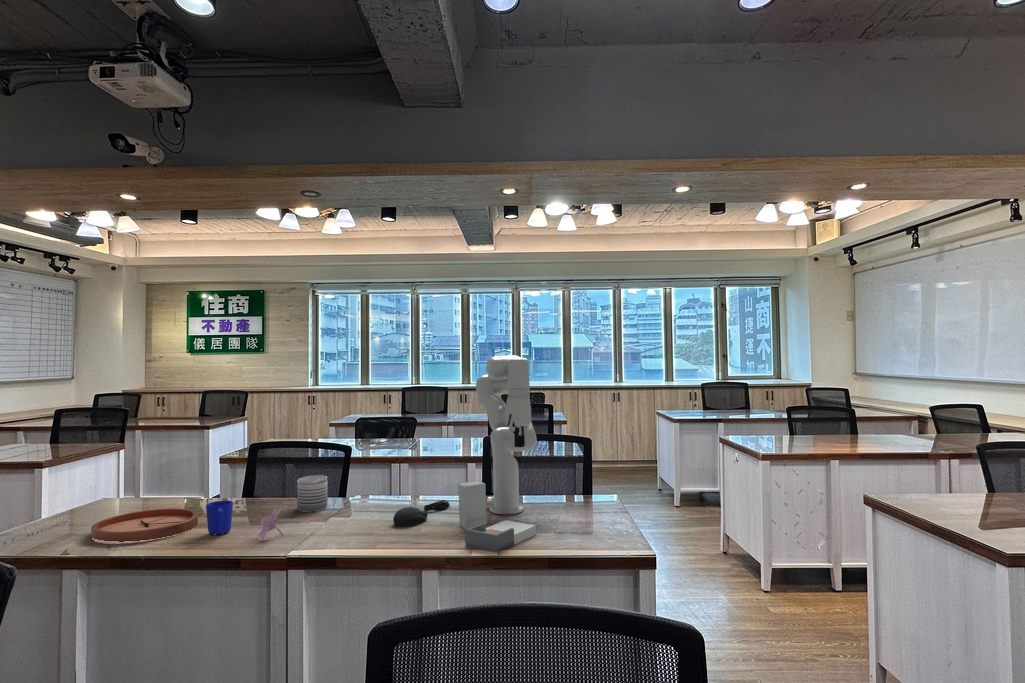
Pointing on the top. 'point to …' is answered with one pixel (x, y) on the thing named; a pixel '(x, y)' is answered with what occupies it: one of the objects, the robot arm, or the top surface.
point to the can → (312, 493)
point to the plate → (516, 529)
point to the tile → (493, 531)
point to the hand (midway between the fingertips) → (519, 446)
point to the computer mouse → (416, 514)
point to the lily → (269, 523)
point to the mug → (219, 516)
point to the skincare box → (472, 504)
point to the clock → (145, 525)
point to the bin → (488, 538)
